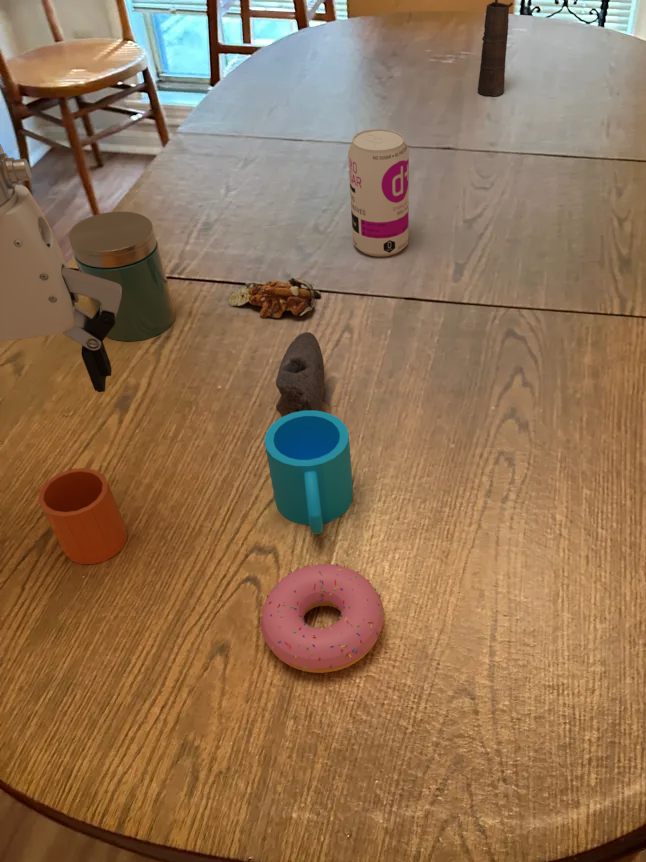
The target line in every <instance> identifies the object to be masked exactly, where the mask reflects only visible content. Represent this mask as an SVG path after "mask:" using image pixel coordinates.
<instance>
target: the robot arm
mask: <svg viewBox="0 0 646 862" xmlns="http://www.w3.org/2000/svg"><path fill="white" fill-rule="evenodd" d="M32 179H33V175H32V169H31V166H30V164H29V162H28V160H27V158H19V159H15V157H9V155H8V154H7V153H6V152H5V151H4V149H3V146H2V144H1V143H0V343H2V342H9V341H17V340H25V339H34V338H41V337H49V336H55V335H60V334H63V335H65V336H66V337H68V338H70V339H71V340H73V341H75V342H76V343H78V344H79V345H81V352H80V353H81V358H82V361H83V363H84V366H85V368H86V371H87V373H88V376H89V379H90V381H91V384H92V387H93V390H94V391H95V392H97V393H103V392H106V382H107V377H111V376H112V371H113V370H112V365H111V361H110V358H109V355H108V352H107V350H106V347H105V344H104V342H103V341H104V340H105V338H107V337H106V336H107V334H108V333H109V332H110V330H111V329H112V328H113V326H114V325H115V320H116V316H117V313H118V309H119V305H120V301H121V295H122V287H121V285H120V284H118V283H116V282H113V281H109V280H106V279H103V278H99V277H96V276H93V275H89V274H86V273H83V272H79V270H75V269H72V268H70V267H69V264H68V262H67V260H66V258H65V256H64V254H63V252H62V249H61V247H60V245H59V243H58V241H57V238H56V237H55V234H54V232H53V230H52V229H51V226H50V224H49V223H48V220H47V218H46V216H45V215H44V213H43V211H42V209H41V207H40V206H39V204H38V203H37V200H36V199H35V198H34V196H33V195H32V193H31V191H30V190H29V188H28V187H26V186H25V185H22V182H25V181H32ZM79 295H80V296H83V297H87V298H88V297H90V298H93V299H96V300H99V301H100V302H101V306H100V308H99V309H98V311H97V312H96V313H95V315H94V314H93V315H92V314H91V313H89V312H88V311H86V310H84V309H83V308H82V307H80V306H78V305H77V304H78V303H79V299H80V297H79ZM76 303H77V304H76Z"/></svg>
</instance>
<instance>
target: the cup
mask: <svg viewBox="0 0 646 862" xmlns="http://www.w3.org/2000/svg"><path fill="white" fill-rule="evenodd" d="M37 503H38V504H39V506H40V508H41V510H42V512H43V514H44V516H45V519H46V520H47V522H48V524H49V526H50V528H51V530H52V532H53V534H54V535H55V538H56V540H57V541H58V544H59V546H60V548H61V550H62V551H63V553H64V555H65V556H66V558H67V559H68V560H70V561H72V562H74V563H75V564H80V565H94V564H95V565H96V564H99V563H103V562H105V561H107V560H109V559H110V560H111V559H112V558H113V557H115V556H116V555H117V554H118V553H120V552H121V551H122V550H123V548H124V546H125V545H126V543H127V540H128V531H127V526H126V524H125V521H124V519H123V517H122V514H121V511H120V509H119V507H118V503H117V501H116V499H115V496H114V494H113V492H112V489H111V486H110V484H109V482H108V480H107V478H106V477H105V475H104V474H103V473H101V472H100V471H98V470H96V469H93V468H86V467H78V468H72V469H71V468H70V469H67V470H65V471H64V470H63V471H61V472H60V473H57V474H55V475H54V476H52V477H51V478H50V479H48V480H46V482H45V483H44V484H43V485H42V487H41V488H40V490H39V491H38V497H37Z"/></svg>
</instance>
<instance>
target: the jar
mask: <svg viewBox="0 0 646 862" xmlns="http://www.w3.org/2000/svg"><path fill="white" fill-rule="evenodd" d="M73 257H74V260H75V264H76V266H77V269H78V271H79V272H83V273H86V274H89V275H93V276H96V277H99V278H103V279H106V280H109V281H113V282H116V283H118V284H120V285H121V287H122V295H121V301H120V305H119V309H118V313H117V316H116V320H115V325H114V326H113V328H112V329H111V330H110V332H109V333H108V334H107V336H106V337H105V338H108V339H111V340H114V341H120V342H139V341H144V340H149V339H151V338H154V337H157V336H158V335H161V334H162V333H165V332H166V331H167V330H168V329H169V328H170V327H172V325H173V324H174V322H175V320H176V309H175V306H174V302H173V298H172V295H171V294H172V293H171V290H170V285H169V282H168V278H167V274H166V270H165V266H164V262H163V257H162V254H161V250H160V246H159V242H158V240H157V239H156V247H155V249H154V250H153V252H152V253H151V254H149V255H148V256H147V257H145V258H144V259H142V260H140V261H137V262H135V263H132V264H129V265H125V266H120V267H112V268H100V267H92V266H88V265H86V264H83V263H81V262H80V261H79V260H78V259H77V258H76V257H75V255H74V254H73ZM87 298H88V302H89V304H90V307H91V310H92V313H93V316H94V315H95V313H96V312H97V311H98V309H99V308H100V306H101V302H100V301H99V300H96V299H93V298H90V297H87Z"/></svg>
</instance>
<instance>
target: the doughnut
mask: <svg viewBox="0 0 646 862" xmlns="http://www.w3.org/2000/svg"><path fill="white" fill-rule="evenodd" d="M370 581H371V580H370V579H367V578H366V577H365V576H364V575H362V574H361V573H360V571H356V570H354V569H351V568H349V567H346V566H345V565H344V566H342V565H339V564H338V562H337V563H335V564H330V563H319V564H313V563H311V565H305V566H303V567H301V568H300V567H298V568H296V569H295V570H294V571H292V570H290V573H288V574H287V575H285V576H284V577H283V578H281V579H280V580H279V581H278V582H277V583H276V584H275V585H274V586H273V587H272V588H271V590H270V591H269V593H268V594H267V595H266V598H265V601H264V600H262V603H263V606H262V608H261V612H260V614H259V615H258V616H259V617H260V619H259V620H260V623H259V624H260V630H259V631H260V632H261V634H262V638H263V640H264V641H265V643H266V645H267V646H268V647H269V649H270V650H271V652H272V653H273V654H274V655H275V656H276V657H277V658H278V659H279V660H280V661H281V662H283V663H284V664H286V665H288V666H290V667H291V668H294V669H297V670H300V671H302V672H307V673H316V674H321V673H322V674H323V673H331V672H336V671H340V670H343V669H347V668H348V667H350V666H352V665H354V664H356V663H357V662H359V661H360V660H361V659H363V658H364V657H365V656H366V655H368V653H369V652H370V651H371V650H372V649H373V647H374V646H375V644H376V642H377V641H378V639H379V636H380V634H381V631H382V628H383V627H384V621H385V608H384V605H383V602H384V599H381V595H382V594H381V593H379V592H378V591H377V588H376V587H374V586H373V585H372V583H371V582H370ZM318 607H333V608H335V609H337V610H338V611H339V612H340V615H339V616H338V619H339V620H338V621H336V622H335V623H334V624H331V625H329V626H327V627H326V626H324V625H323V626H322V627H316V626H313V625H309V624H308V623H306V622H305V615H306V614H307V613H308V612H310V611H311V610H313V609H314V608H318Z"/></svg>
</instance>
